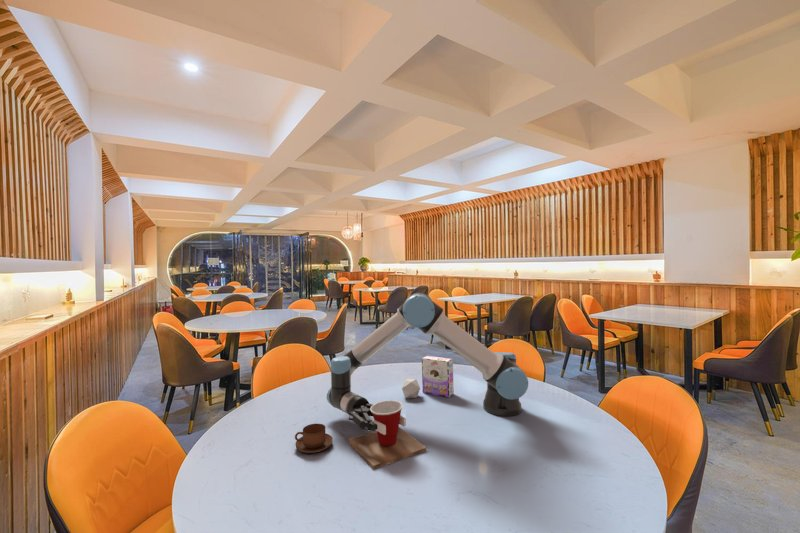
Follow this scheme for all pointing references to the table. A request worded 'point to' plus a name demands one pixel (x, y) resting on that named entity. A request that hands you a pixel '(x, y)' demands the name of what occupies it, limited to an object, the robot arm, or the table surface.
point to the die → (410, 388)
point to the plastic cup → (387, 420)
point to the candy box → (437, 376)
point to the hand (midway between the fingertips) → (395, 426)
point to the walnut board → (385, 448)
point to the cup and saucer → (313, 439)
